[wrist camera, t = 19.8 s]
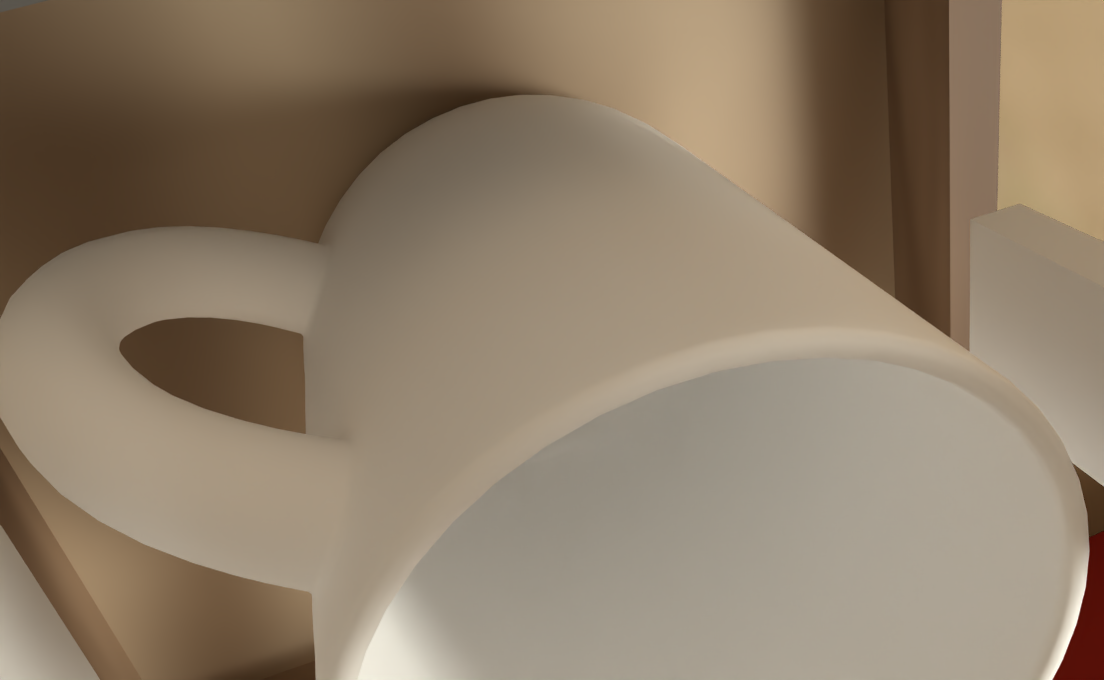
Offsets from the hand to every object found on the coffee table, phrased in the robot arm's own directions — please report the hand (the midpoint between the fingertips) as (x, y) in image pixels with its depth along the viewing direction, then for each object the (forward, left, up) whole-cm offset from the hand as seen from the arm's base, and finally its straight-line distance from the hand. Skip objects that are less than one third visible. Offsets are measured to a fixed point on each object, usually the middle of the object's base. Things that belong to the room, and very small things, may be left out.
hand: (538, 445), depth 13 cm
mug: (-1, 0, -6) cm, 6 cm away
